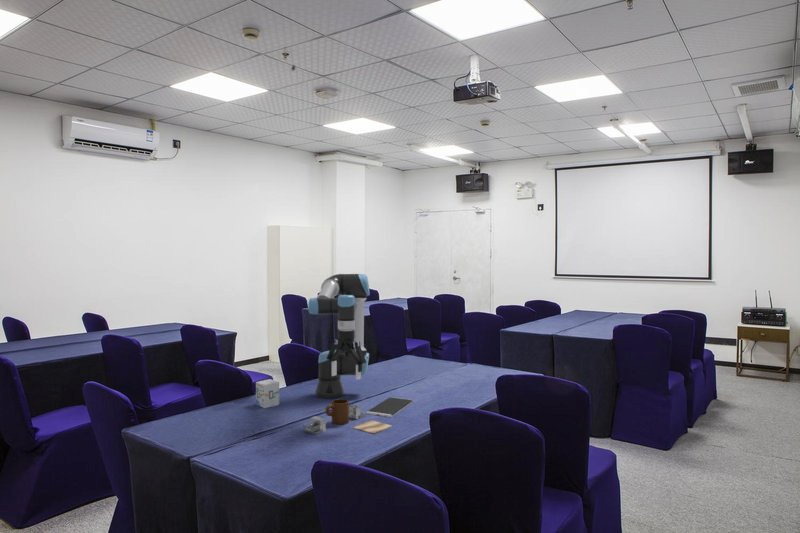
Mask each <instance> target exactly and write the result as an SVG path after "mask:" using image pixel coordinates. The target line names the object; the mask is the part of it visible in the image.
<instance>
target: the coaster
mask: <svg viewBox="0 0 800 533" xmlns="http://www.w3.org/2000/svg"><path fill="white" fill-rule="evenodd" d="M392 427H393V425H391V424H387V423H383V422H380V421H376V420H373V419H371V420H368V421H365V422H363V423H360V424H358V425H355V426H354V427H353V428H352V429H355V430H358V431H362V432H365V433H368V434H372V435H375V434H378V433H381V432H383V431H385V430H387V429H390V428H392Z"/></svg>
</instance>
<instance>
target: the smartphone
mask: <svg viewBox="0 0 800 533" xmlns="http://www.w3.org/2000/svg"><path fill="white" fill-rule="evenodd" d="M413 402H414V401H413V399H409V398H408V399H407V398H400V397H392V396H391V397H388V398H386V399H385V400H382V402H380V403H378V404H377V405H375V406H373V407H372V408H370V409H369V410H367V411H366V412H365V414H366V415H371V416H379V417H384V418H385V417H386V418H393V417H394V416H396V415H397V414H398V413H400V412H401V411H402V410H404V409H405V408H407V407H408V406H410V405H411V404H412V403H413Z"/></svg>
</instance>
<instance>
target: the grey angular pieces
mask: <svg viewBox="0 0 800 533" xmlns="http://www.w3.org/2000/svg"><path fill="white" fill-rule="evenodd" d="M361 410H362V409H361V406H359V405H355V404H349V419H354V420H358V419H362V418H365V417H367V414H366V413H364V412H361ZM326 421H327V420H326V418H323V417H320V416H316V415H315V416H312V417H310V423H309V424H302V427H304V428H303V432H306V433H309V434H311V435H314V436H316V435H319V434H321V433H324V432H326V430H327V429H326V424H327V422H326Z"/></svg>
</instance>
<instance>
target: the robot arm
mask: <svg viewBox="0 0 800 533" xmlns="http://www.w3.org/2000/svg"><path fill="white" fill-rule="evenodd" d="M370 295H371V294H370V284H369V278H368V275H366V274H365V273H364V274H363V273H338V274H337V273H336V274H334V275H330V276H329V277H327V278H326V279H324V281H323V282H322V283H321V287H320V291H319V293H318V295H317V296H316V297H311V298H309V299H308V303H307V304H308V305H307V307H308V308H307V310H308V313H309V314H311V315H337V338H335V339H332V342H331V347H330V348H329V350H326V351H322V352H321V353H320V354H319V355H318V361H317V363H318V382H317V385H316V389H315V392H314V395H315V397H317V398H320V399H335V398H336V399H337V398H340V397H342V396H344V393H345V388H343V383H342V380H341V379H342V378H341V376H355V380H357V381H359V380H361V379H362V376H365V375H366V374H367V371H368V366H369V359H370V353H369V352H367V349H366V348H365V344H364V343H365V342H364V340H365V339H364V338H365V337H364V336H365V335H364V334H365V331H364V330H365V327H364V326H365V301H366V300H367V299H368V296H370ZM335 296H337V297H335ZM343 351H344V352H343Z"/></svg>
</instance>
